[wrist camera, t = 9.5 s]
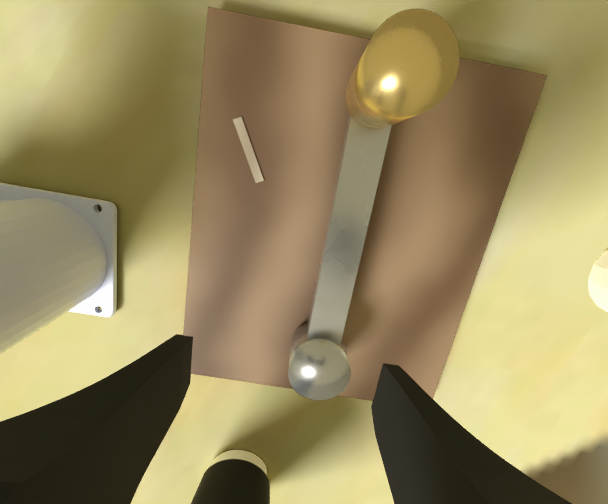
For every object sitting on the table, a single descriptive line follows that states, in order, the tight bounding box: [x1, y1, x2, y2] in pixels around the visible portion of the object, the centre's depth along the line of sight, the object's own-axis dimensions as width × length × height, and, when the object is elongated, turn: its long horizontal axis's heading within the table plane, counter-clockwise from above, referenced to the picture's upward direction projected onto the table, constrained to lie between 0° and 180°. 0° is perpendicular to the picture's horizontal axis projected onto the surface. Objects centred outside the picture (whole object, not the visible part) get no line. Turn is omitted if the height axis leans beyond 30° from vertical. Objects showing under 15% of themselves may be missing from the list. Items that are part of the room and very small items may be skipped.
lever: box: [288, 9, 459, 400], centre depth 15 cm, size 4×18×7 cm, turn 170°
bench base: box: [183, 7, 547, 401], centre depth 20 cm, size 18×22×1 cm
